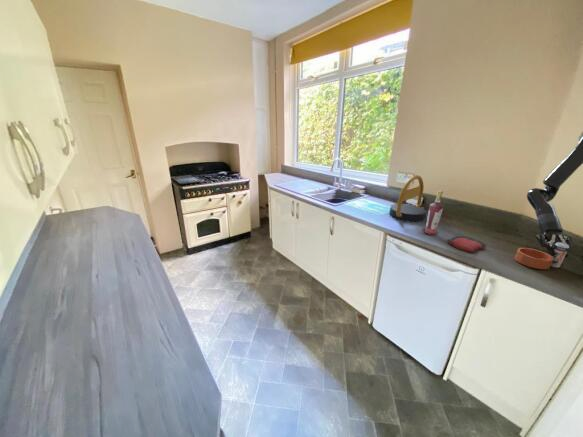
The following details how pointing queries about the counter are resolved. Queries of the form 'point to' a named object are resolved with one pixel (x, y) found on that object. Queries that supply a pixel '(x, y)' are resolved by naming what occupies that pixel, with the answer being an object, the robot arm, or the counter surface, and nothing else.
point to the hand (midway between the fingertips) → (559, 256)
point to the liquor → (434, 215)
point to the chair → (409, 211)
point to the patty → (466, 245)
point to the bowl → (533, 258)
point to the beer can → (559, 253)
